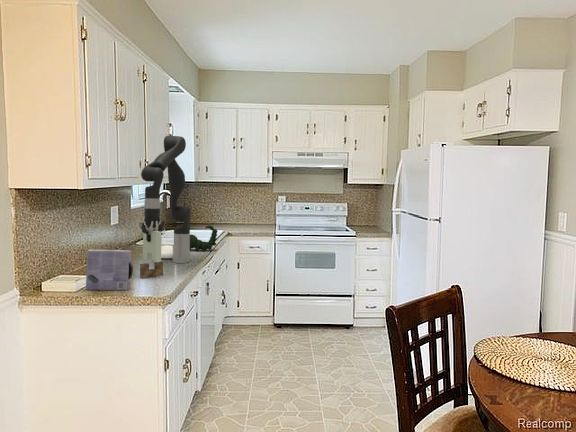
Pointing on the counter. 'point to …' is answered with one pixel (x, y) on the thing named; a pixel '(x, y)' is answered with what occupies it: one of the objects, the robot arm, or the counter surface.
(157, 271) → the walnut u-shaped block
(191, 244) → the toy figurine
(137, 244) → the counter surface
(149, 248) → the pale green plank
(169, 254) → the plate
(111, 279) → the cake pan box
